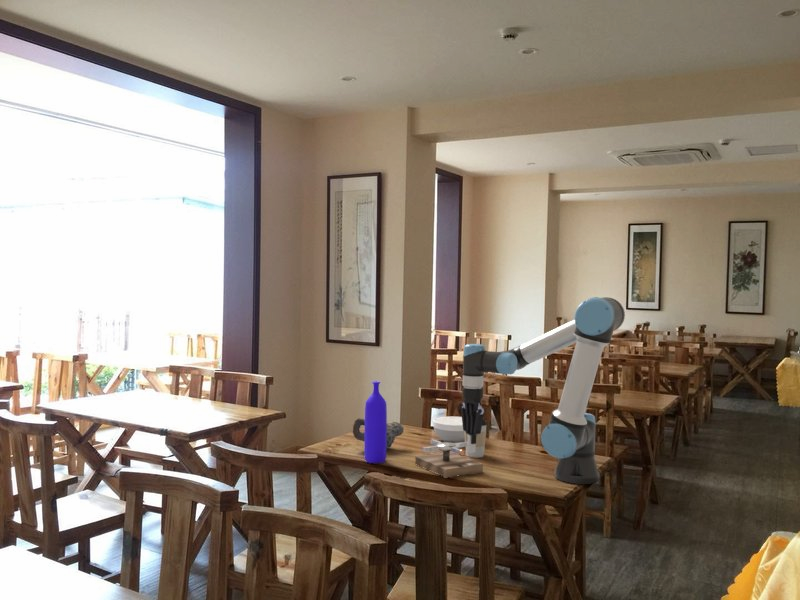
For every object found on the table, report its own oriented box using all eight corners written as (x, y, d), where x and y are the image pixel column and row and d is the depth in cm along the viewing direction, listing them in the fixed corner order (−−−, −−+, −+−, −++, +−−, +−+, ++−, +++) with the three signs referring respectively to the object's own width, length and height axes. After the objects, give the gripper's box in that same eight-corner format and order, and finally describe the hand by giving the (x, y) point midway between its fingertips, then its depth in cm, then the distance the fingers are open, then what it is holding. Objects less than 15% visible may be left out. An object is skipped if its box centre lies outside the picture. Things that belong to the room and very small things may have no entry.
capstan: (486, 453, 242) (486, 447, 242) (440, 460, 233) (440, 453, 232) (453, 441, 260) (453, 435, 260) (409, 447, 250) (409, 440, 250)
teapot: (399, 444, 284) (399, 408, 284) (408, 450, 273) (408, 413, 273) (349, 447, 277) (349, 410, 277) (356, 454, 266) (357, 416, 266)
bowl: (424, 441, 289) (424, 421, 289) (447, 434, 304) (447, 414, 304) (463, 448, 278) (463, 427, 278) (484, 440, 294) (485, 419, 294)
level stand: (482, 472, 243) (483, 453, 243) (445, 478, 235) (445, 458, 235) (451, 459, 260) (451, 441, 260) (415, 464, 252) (415, 446, 252)
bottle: (378, 465, 250) (379, 384, 250) (359, 461, 255) (360, 382, 254) (390, 460, 258) (391, 381, 257) (372, 457, 262) (373, 379, 261)
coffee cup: (485, 458, 262) (486, 420, 261) (462, 457, 264) (462, 418, 263) (487, 453, 271) (487, 415, 270) (464, 451, 272) (465, 414, 272)
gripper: (492, 389, 241) (490, 455, 242) (470, 383, 252) (469, 447, 253) (475, 390, 237) (473, 457, 238) (454, 385, 248) (452, 449, 249)
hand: (471, 452), depth 245 cm, fingers closed
